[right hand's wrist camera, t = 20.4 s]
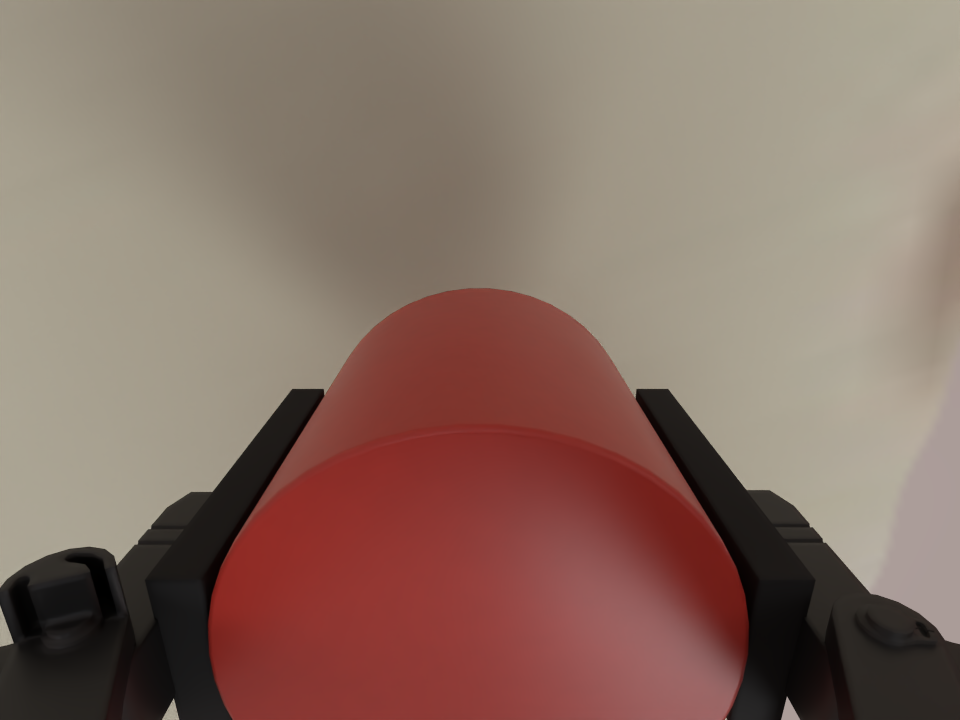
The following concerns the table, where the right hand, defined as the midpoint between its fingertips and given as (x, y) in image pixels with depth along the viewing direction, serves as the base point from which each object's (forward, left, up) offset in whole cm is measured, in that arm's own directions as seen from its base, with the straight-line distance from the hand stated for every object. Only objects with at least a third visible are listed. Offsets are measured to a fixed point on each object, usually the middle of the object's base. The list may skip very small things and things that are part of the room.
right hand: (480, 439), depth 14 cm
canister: (0, 0, 0) cm, 0 cm away
